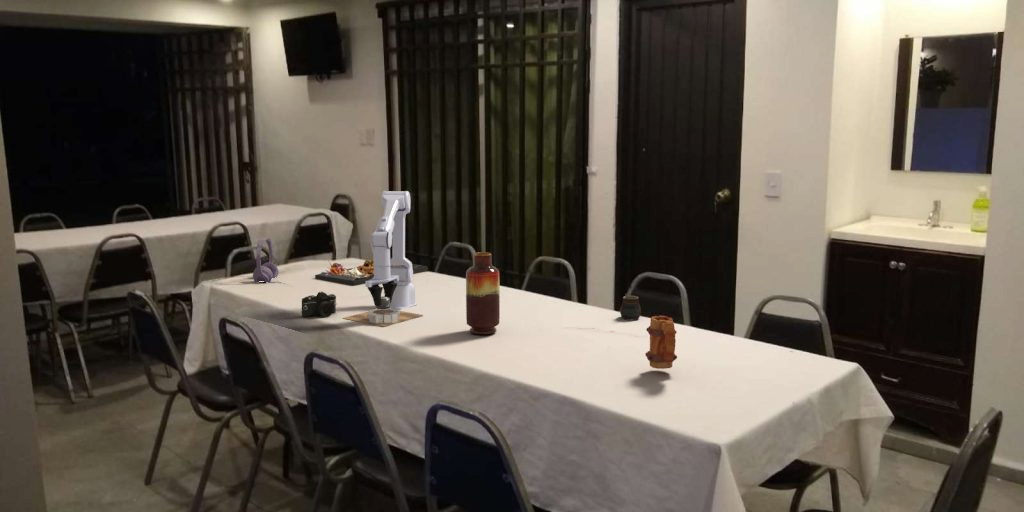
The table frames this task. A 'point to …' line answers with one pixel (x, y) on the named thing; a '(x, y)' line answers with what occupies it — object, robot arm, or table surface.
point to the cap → (384, 303)
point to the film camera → (319, 305)
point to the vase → (482, 295)
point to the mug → (661, 342)
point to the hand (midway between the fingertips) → (383, 304)
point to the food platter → (357, 273)
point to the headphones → (266, 269)
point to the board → (363, 319)
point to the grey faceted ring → (383, 316)
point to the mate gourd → (630, 307)
